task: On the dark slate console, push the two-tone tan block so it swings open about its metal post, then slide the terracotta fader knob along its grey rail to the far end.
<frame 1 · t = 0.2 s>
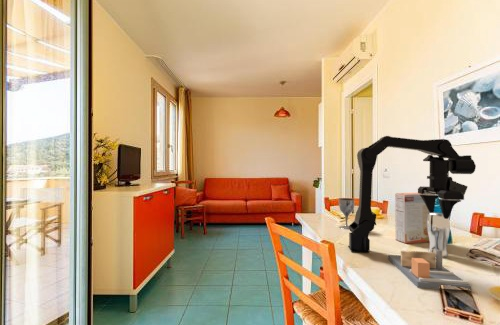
hand: (438, 216, 95), 14 cm above the table, tool pointing down, fingers open, 9 cm apart
two-tone tan block: (417, 259, 80), point 4 cm above the table, hinge at 0.0°
cracker box: (413, 241, 112), on the table
wine glass: (346, 228, 135), on the table
fader: (420, 267, 73), point 4 cm above the table, slide at 0.0 cm
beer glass: (437, 255, 95), on the table
console: (423, 272, 79), on the table
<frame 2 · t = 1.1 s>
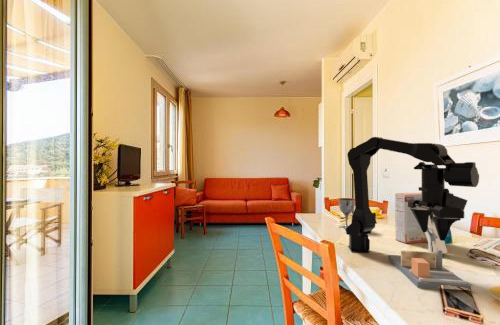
hand: (432, 236, 78), 12 cm above the table, tool pointing down, fingers open, 9 cm apart
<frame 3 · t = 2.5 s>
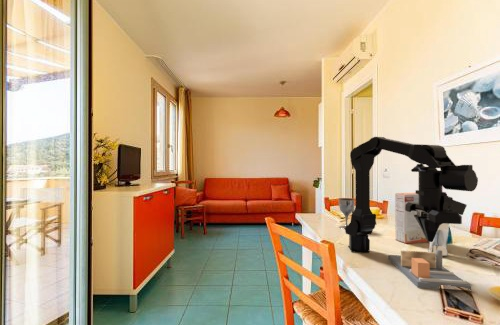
hand: (429, 241, 75), 11 cm above the table, tool pointing down, fingers closed
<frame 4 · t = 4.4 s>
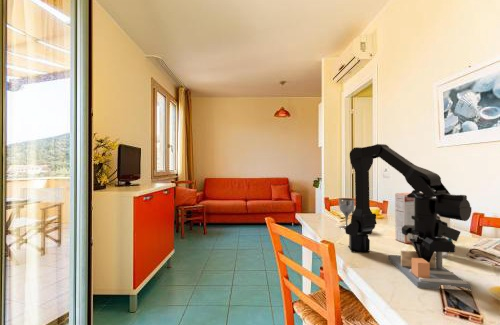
hand: (425, 265, 77), 3 cm above the table, tool pointing down, fingers closed
two-tone tan block: (417, 259, 80), point 4 cm above the table, hinge at 0.0°, touching gripper
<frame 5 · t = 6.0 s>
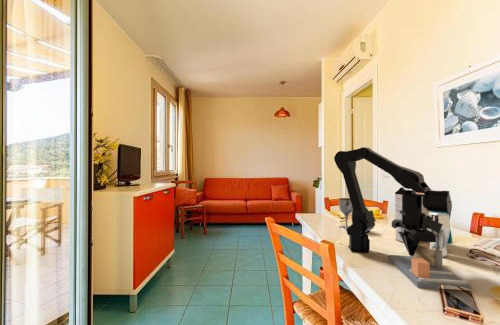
hand: (411, 255, 86), 3 cm above the table, tool pointing down, fingers closed
two-tone tan block: (422, 253, 85), point 4 cm above the table, hinge at 70.3°
everything else where it was.
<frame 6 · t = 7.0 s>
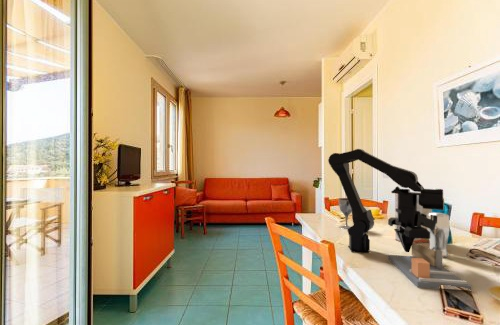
hand: (407, 251, 89), 3 cm above the table, tool pointing down, fingers closed
two-tone tan block: (423, 253, 85), point 4 cm above the table, hinge at 74.4°
everything else where it was.
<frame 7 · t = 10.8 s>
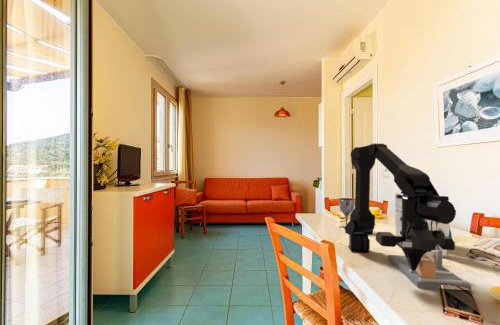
hand: (413, 270, 73), 3 cm above the table, tool pointing down, fingers closed
fader: (425, 268, 73), point 4 cm above the table, slide at 1.4 cm, touching gripper
everything else where it was.
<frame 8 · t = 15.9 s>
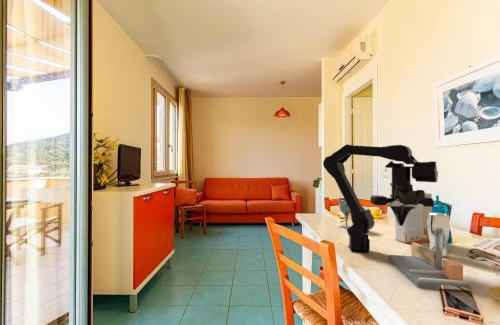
hand: (400, 225, 90), 12 cm above the table, tool pointing down, fingers closed
fader: (452, 269, 72), point 4 cm above the table, slide at 8.3 cm
everything else where it was.
at the end: two-tone tan block at +74° (first picture: +0°); fader slide at 8.3 cm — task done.
